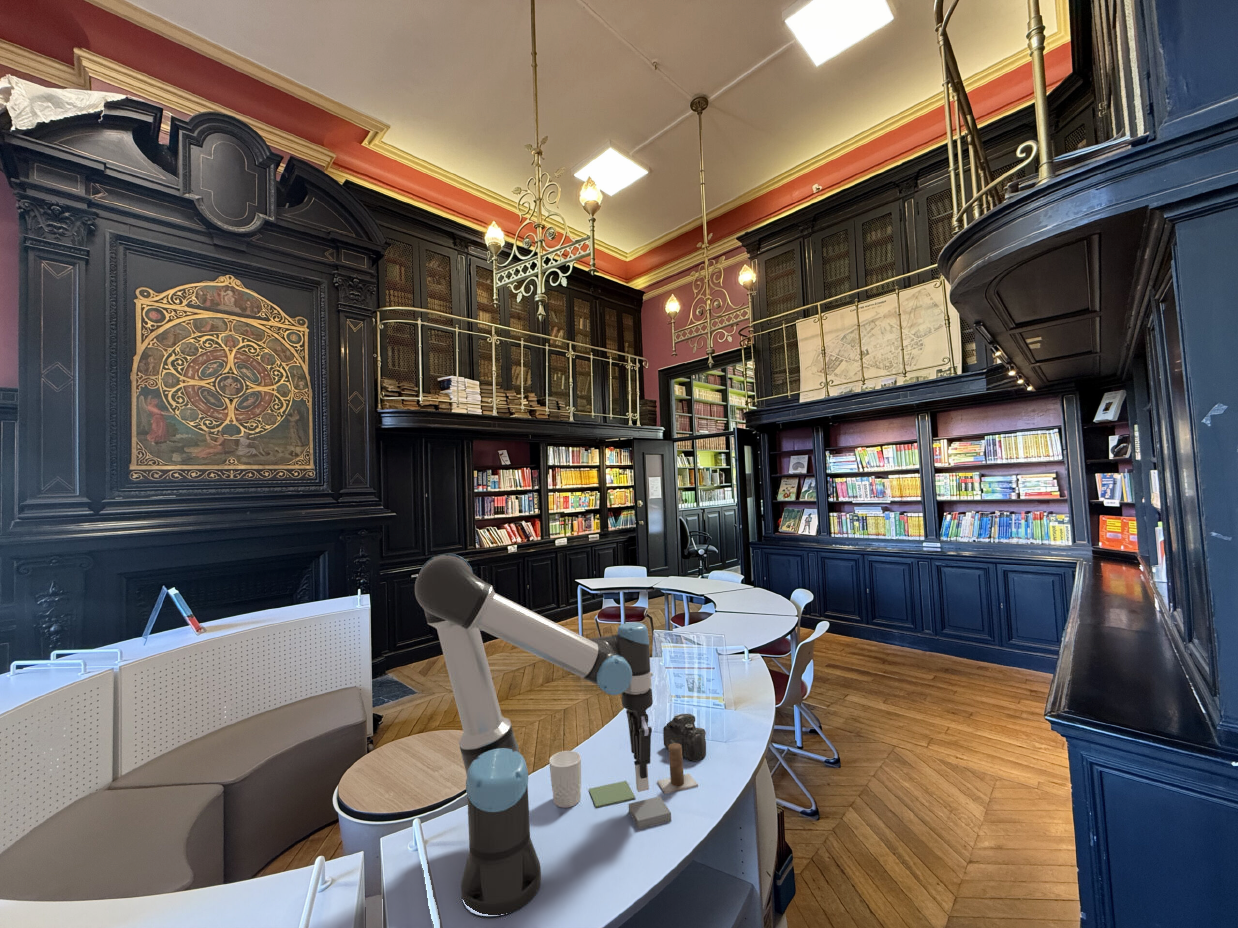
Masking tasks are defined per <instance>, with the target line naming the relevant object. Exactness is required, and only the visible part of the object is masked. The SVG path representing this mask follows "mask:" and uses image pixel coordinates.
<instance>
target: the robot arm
mask: <svg viewBox="0 0 1238 928" xmlns="http://www.w3.org/2000/svg"><path fill="white" fill-rule="evenodd" d="M414 595H415V598H416V601H417V602H418V604H419V605H420V607H422V609H423V611H424V615H425V619H426V621H427V625H429V626H431V627H433V628H434V629H436V631H437V635H438V639H439V643H440V647H441V650H442V654H443V658H444V662H445V666H446V670H447V673H448V674H447V675H448V678H449V681H450V685H451V689H452V692H453V696H454V701H455V704H456V709H457V712H458V716H459V719H460V723H461V728H462V730H463V731H462V732H463V733H462V734H461V736H460V738H459V741H458V746H459V750H460V752H461V753H460V754H461V758H462V761H463V766H464V769H465V775H466V780H465V790H466V794H467V817H468V818H467V819H468V821H467V822H468V825H467V826H468V843H469V844H468V849H469V851H468V855H467V859H466V864H465V867H464V871H463V875H462V879H461V884H460V888H461V889H460V890H461V891H460V892H461V894H462V895H461V894H460V895H461V900H462V899H463V900H464V902H465V904H466V905H467V906H469V907H470V908H472V909H473V910H475V911H477V912H479V913H482V914H488V915H501V914H506V913H509V914H511V913H510V912H512V913H513V911H514V912H516V911H518V910H519V908H520V909H522V908H523V907H525V905H527V904H528V903H529V902H531V901H532V899H533V898H535V896H536V894H537V893H538V891H539V889H540V886H541V884H542V883H541V882H542V874H541V873H542V872H541V871H542V870H541V868H542V867H541V863H540V860H539V857H538V854H537V853H536V849H535V846H534V844H533V841H532V839H531V833H530V832H531V828H530V827H531V825H530V808H529V806H530V805H529V787H528V783H529V772H528V767H527V763H526V759H525V758H524V756H523V754H521V753H520V749H519V745H518V743H517V740H516V737H515V733H514V729H513V726H512V722H511V720H510V719H509V718H507V717H504V716H503V715H502V711H501V708H500V704H499V701H498V700H499V699H498V697H497V696H498V695H497V692H496V687H495V685H494V681H493V677H492V673H491V668H490V665H489V661H488V658H487V654H486V651H485V646H484V642H483V638H482V634H481V632H480V631H483V632H485V633H487V634H489V635H491V636H493V637H496V638H497V639H500V640H501V641H504V642H506V643H508V644H511V645H512V646H515V647H516V648H519V649H521V650H523V651H525V652H528V653H529V654H531V655H533V656H535V657H537V658H540V659H542V660H544V661H546V662H548V663H551V664H553V665H555V666H557V667H559V668H560V669H563V670H566V671H567V672H569V673H572V674H574V675H576V676H578V677H580V678H582V679H584V680H586V681H588V682H590V683H592V684H594V685H597V686H598V688H599V689H600V690H601V691H603V692H604V693H605V694H608V695H610V696H617V695H621V706H622V707H623V708H624V709H626V712H625V713H626V716H627V723H628V725H627V726H628V732H629V733H628V734H629V740H630V749H631V754H633V758H634V761H633V764H634V769H635V772H634V773H635V785H636V786H635V787H636V790H637V792H638V793H639V792H644V791H645V792H646V791H649V790H650V785H649V768H648V767H649V766H648V765H649V764H651V754H652V753H651V751H652V750H651V748H652V747H651V744H652V731H653V729H652V726H649V724H648V723H649V714H648V713H647V710H648V709H649V708H651V707H652V705H653V703H654V701H653V690H652V677H653V675H654V674H653V672H652V671H651V655H650V639H649V637H650V636H649V631H648V627H647V626H646V625H645V624H644V623H642V622H626V623H622V624H619V625H618V627H617V632H616V634H612V635H607V636H600V637H592V638H586V637H584V636H583V635H580V634H578V633H577V632H574V631H572V630H570V629H569V628H566V627H565V626H562V625H560V624H559V623H556V622H555V621H552V620H551V619H548V618H546V617H544V616H542V615H540V614H538V613H537V612H535V611H533V610H530V609H528V608H527V607H524V606H522V605H521V604H518V603H517V602H514V601H512V600H510V599H508V598H506V597H505V596H502V595H500V594H498V593H496V592H495V590H494V586H493V585H491V583H488V582H486V581H484V580H482V579H481V578H479V577H478V576H477V575H475V574H474V571H473V569H472V566H471V565H470V563H469V562H468V561H467V560H466V559H465V558H464V557H462V556H460V555H457V554H455V553H444V554H438V555H437V556H433V557H431V558H430V559H428V560H427V561H426V563H424V564H423V565H422V567H421V569H420V571H419V573H418V575H417V577H416V579H415V584H414ZM506 915H507V914H506Z"/></svg>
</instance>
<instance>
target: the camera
mask: <svg viewBox="0 0 1238 928" xmlns="http://www.w3.org/2000/svg"><path fill="white" fill-rule="evenodd" d="M695 722H696V716H695V715H694V714H691V713H680V714H675V715H674V717H673V718H672V719H671V720H669V722H667V723H666V725H665V726H664V727H663V728H662V729H663V730H662V731H663V733H662V734H663V735H662V736H663V739H662V740H663V745H664V747H665V748H667V749H668V750H669V747H668V746H669V745H670V744H672V743H678V744H681V746H682V759H684V758H685V759H687V760H689V761H692V762H698V761H701V760H703V759H705V758H706V756H707V741H706V735H707V733H706V730H705V728H701V727H696V724H695Z"/></svg>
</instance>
